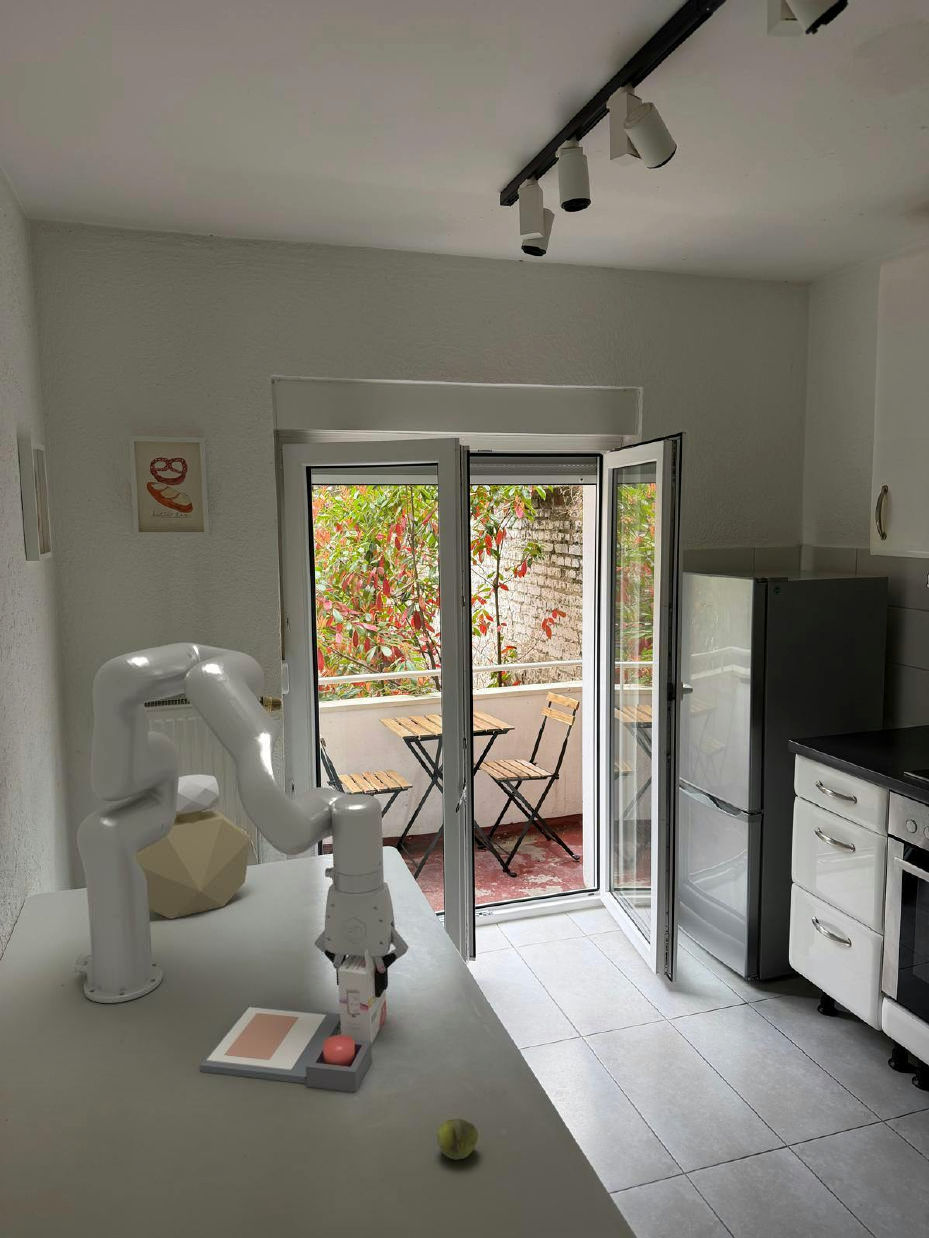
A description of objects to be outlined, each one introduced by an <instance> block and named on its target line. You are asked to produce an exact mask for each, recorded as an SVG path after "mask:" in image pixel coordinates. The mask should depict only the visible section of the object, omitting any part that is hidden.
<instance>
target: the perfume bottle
mask: <svg viewBox="0 0 929 1238" xmlns="http://www.w3.org/2000/svg"><path fill="white" fill-rule="evenodd" d="M219 802H220V790H219V785H218V781H217V778H216V776H213V775H208V774H201V773H200V774H190V775H189V774H188V775H183V776H179V784H178V796H177V808H176V817H175V821H174V825H173V827H172V829H171V831H170V832H169V834H168V835H167V836H166V837H164V838H163V839H161V840H160V841H158V842H157V843H155V844H153V845H151V846H149V847H147V848H145V849H143V850H142V851H140V852H139V853H137V855H136V859H137V861H138V863H139V865H140V866H141V868H142V869H143V871H144V873H145V875H146V878H147V885H148V900H149V910H150V911H153V912H155V913H157V914H159V915H160V916H163V917H165V918H167V919H169V920H173V919H176V918H177V917H178V918H181V916H182V917H185V916H191V915H194V914H198V913H202V912H207V911H210V910H214V909H218V908H223V907H225V906H226V905H227V904H228V902H229V901H230V900H232V898H233V897H234V895H235V894H236V893H237V892H238V890H240V888H241V887H242V886H243V884H244V883H246V875H247V870H248V869H247V868H248V860H249V855H250V853H249V852H250V848H251V847H250V846H251V839H252V838H251V836H250V835H249V834H248V833H246V832H245V831H244V830H243V829H241V828H240V827H238V826H237V825H236V824H235V823H234V822H232V821H231V820H230V819H228V818H227V817H226V816H225V815H224V814H222V813H221V812H220V811H218V810H217V809H212V808H214V807H217V806H218V805H219ZM210 809H211V810H210ZM178 918H177V919H178Z"/></svg>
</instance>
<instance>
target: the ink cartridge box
mask: <svg viewBox="0 0 929 1238" xmlns="http://www.w3.org/2000/svg"><path fill="white" fill-rule="evenodd" d="M376 970H377V966H376V963H375V960H374V957H370V956H369V952H368V949H367V950H366V951H365V956H353V955H347V957H346V959H345V961H344V962H343V964H342V965H341V966H340V968H339V969H338V982H339V985H338V997H339V1014H340V1021H341V1025H340V1035H347V1036H350V1037H352V1038H353V1039H354V1040H362V1041H371V1045H372V1044H373V1042H374V1040H375V1038H376V1036H377V1034H378V1033H379V1030H380V1028H381V1026H382V1024H383V1022H384V1021H385V1019H386V1017H387V998H386V996H387V995H386V994H387V993H386V991H387V989H386V990H384V991H383V993H382V995H381V997H380V998H379V997H376V996H375V978H374V974H375V972H376Z"/></svg>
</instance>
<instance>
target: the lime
mask: <svg viewBox="0 0 929 1238" xmlns="http://www.w3.org/2000/svg"><path fill="white" fill-rule="evenodd" d="M478 1138H479V1131H478V1129H477V1128H476V1126H475V1125H474V1124H473V1123H471V1122H469V1121H467V1120H465V1119H461V1118H454V1119H453V1118H452V1119H448V1120H447V1121H446V1122H444V1123H443V1124H441V1125H440V1126H439V1128H438V1130H437V1132H436V1139H437V1144H438V1146H439V1148H440V1150H441V1152H442V1154H443V1155H444V1156H445V1157H447V1158H449V1159H450V1160H456V1161H457V1160H463V1159H465V1158H467V1157H468V1156H470V1154H471V1153H472V1152H473V1151H474V1149H475V1147H476V1145H477V1142H478Z"/></svg>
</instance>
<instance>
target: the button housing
mask: <svg viewBox="0 0 929 1238" xmlns="http://www.w3.org/2000/svg"><path fill="white" fill-rule="evenodd" d="M328 1038H330V1037H324V1038H323V1039H322V1041H321V1043H320V1044H319V1046H318V1048H317V1049H316V1051H315V1052H314V1054H313V1056H312V1057H311V1059H310V1061H309V1062H308V1064H307V1065H306V1087H307V1088H313V1089H314V1088H315V1089H323V1090H330V1091H331V1090H332V1091H340V1092H341V1091H342V1092H349V1093H357V1092H356V1091H358V1089H359V1088H360V1086H361V1083H362V1082H361V1081H363V1079H364V1077H365V1076H364V1075H366V1074H367V1072H366V1071H368V1070H367V1069H369V1067H370V1065H371V1063H372V1062H373V1060H372V1059H373V1057H372V1056H373V1055H372V1053H373V1052H372V1044H371V1041H362V1040H354V1043H355V1060H354V1062H353V1063H352V1065H351V1067H348V1066H339V1065H330V1064H324V1054H323V1044H324V1042H325V1041H326V1040H327V1039H328ZM359 1085H360V1086H359Z"/></svg>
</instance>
